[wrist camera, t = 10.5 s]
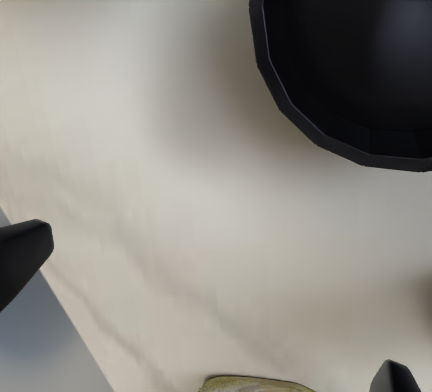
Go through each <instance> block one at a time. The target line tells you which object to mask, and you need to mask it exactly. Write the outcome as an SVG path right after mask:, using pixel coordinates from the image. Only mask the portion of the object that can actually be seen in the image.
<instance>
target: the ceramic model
mask: <svg viewBox="0 0 432 392" xmlns="http://www.w3.org/2000/svg"><path fill="white" fill-rule="evenodd" d="M198 392H314V391H312V390H309V389H308V388H306V387H304V386H301V385H299V384H296V383H290V382H283V381H275V380H268V379H260V378H250V377H239V376H237V377H226V376H225V377H217V378H213V379H210V380H208V381H207V382H206V383H205V384H204V385H203V386H202V387H201V388H200V389H199V391H198Z"/></svg>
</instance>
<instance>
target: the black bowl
mask: <svg viewBox="0 0 432 392" xmlns="http://www.w3.org/2000/svg"><path fill="white" fill-rule="evenodd" d="M249 14H250V21H251V28H252V35H253V42H254V49H255V56H256V63H257V67H258V69H259V71H260V73H261V75H262V77H263V79H264V81H265V83H266V85H267V87H268V89H269V90H270V92H271V94H272V96H273V98H274V100H275V102H276V104H277V106H278V108H279V110H280V111H281V112H282V113H283V114H284V115H285V116H286V117H287V118H288V119H289V120H290V121H291V122H292V123H293V124H294V125H295V126H296V127H297V128H299V129H300V130H301V131H302V132H303V133H304V134H305V135H306V136H307V137H308V138H309V139H310V140H311V141H312V142H313V143H314V144H317V146H319V147H321V148H323V149H326V150H328V151H330V152H332V153H335V154H337V155H339V156H341V157H344V158H346V159H348V160H350V161H353V162H355V163H357V164H359V165H361V166H363V165H364V166H366V167H375V168H384V169H393V170H402V171H411V172H420V171H421V172H427V171H432V0H250V1H249Z"/></svg>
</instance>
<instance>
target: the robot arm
mask: <svg viewBox="0 0 432 392" xmlns="http://www.w3.org/2000/svg"><path fill="white" fill-rule="evenodd" d="M53 249H54V241H53V235H52V228H51V226H50V224H48V223H46V222H44V221H41V220H38V219H34V220H30V221H25V222H21V223H17V224H13V225H9V226H5V227H1V228H0V312H1V311H2V310H3V309H4V308H5V307H6V306H7V305H8V304H9V303H10V302H11V301H12V300H13V299H14V298H15V297H16V296H17V295H18V293H19V292H20V291H21V290H22V289H23V288H24V286H25V285H26V284H27V283H28V282H29V280H30V279H31V278H32V277H33V276H34V274H35V273H36V272H37V271H38V270H39V268H40V267H41V266H42V265H43V264H44V262H45V261H46V260H47V259H48V257H49V256H50V255H51V254H52V252H53ZM369 392H421V390H420V389H419V387H418V385H417V383H416V381H415V379H414V377H413V375H412V374H411V372H410V370H409V369H408V368H407V367H406V366H404V365H402V364H400V363H397V362H395V361H392V360H386V361H385V362H384V363H383V364H382V366H381V367H380V369H379V371H378V372H377V374H376V375H375V377H374V378H373V380H372V383H371V386H370V390H369Z"/></svg>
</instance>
